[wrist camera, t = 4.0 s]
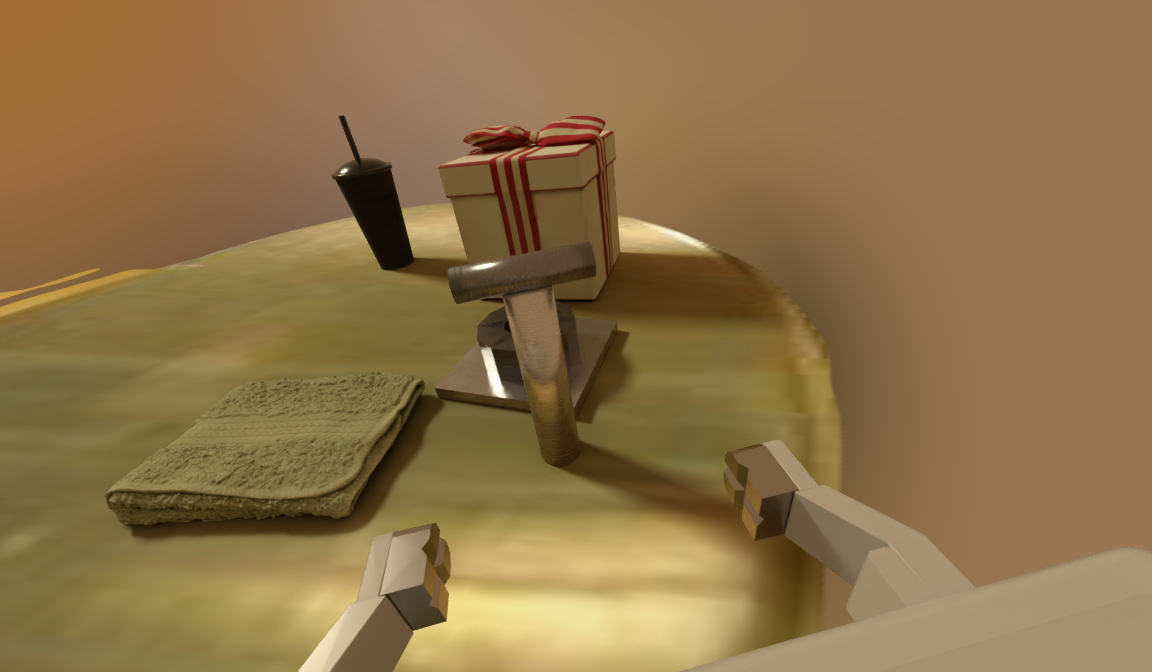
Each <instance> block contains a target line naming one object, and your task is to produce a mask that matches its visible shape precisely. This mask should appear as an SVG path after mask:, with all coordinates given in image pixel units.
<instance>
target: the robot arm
mask: <svg viewBox="0 0 1152 672" xmlns="http://www.w3.org/2000/svg"><path fill="white" fill-rule="evenodd" d="M725 462H726V464H727V465H728V467H727V468H726V469H725V471H724V478H723V480H724V484H725V489H726V491H727V494H728V496H729V498H730V500H731V501H732V503H733V505H735V506H736V507H738V508H740V509H741V510H743V512H742V520H743V522H744V524H745V525H746V527H747V529H748V531H749V532H750V534H751V536H752V537H753V539H754V541H756V540H760V539H765V538H769V537H773V536H778V535H782V534H785V535H784V536H786V537H787V538H788V539H790V540H791V541H792V542H794V543H795V544H797V545H798V546H799V547H801V548H802V549H803V550H805V551H806V552H807V553H809V554H810V555H812V556H813V557H814V558H816V559H817V560H818V561H820V562H821V563H823V564H824V565H825V566H827V567H828V568H829V569H831V570H832V571H833V572H835V573H836V574H838V575H839V576H840V577H842V578H843V579H845V580H846V581H847V582H849V583H850V584H851V585H853V586H854V587H853V589H852V592H851V594H850V596H849V598H848V601H847V604H846V609H847V611H848V612H849V613H850V615H851V616H852V618H853V620H854V621H855V622H852V623H849V624H845V625H841V626H838V627H834V628H831V629H827V630H824V631H820V632H817V633H813V634H810V635H806V636H803V637H799V638H796V639H792V640H789V641H785V642H782V643H778V644H774V645H771V646H767V647H764V648H760V649H757V650H753V651H750V652H746V653H743V654H739V655H736V656H732V657H729V658H725V659H722V660H718V661H714V662H711V663H707V664H704V665H700V666H697V667H693V668H690V669H686V670H683V671H679V672H1152V552H1149V551H1146V550H1143V549H1139V548H1134V547H1119V548H1114V549H1109V550H1105V551H1102V552H1099V553H1095V554H1092V555H1088V556H1085V557H1082V558H1078V559H1075V560H1072V561H1068V562H1064V563H1061V564H1057V565H1053V566H1050V567H1047V568H1043V569H1040V570H1036V571H1032V572H1029V573H1025V574H1021V575H1018V576H1015V577H1011V578H1007V579H1004V580H1000V581H997V582H993V583H990V584H986V585H983V586H980V587H974V586H973V585H972V584H971V583H970V582H969V581H968V580H967V579H966V578H965V576H963V574H962V573H961V572H960V571H959V570H958V569H957V568H956V567H955V566H954V565H953V564H952V563H951V562H950V561H949V560H948V559H947V558H946V557H945V556H944V555H943V554H942V553H941V552H940V551H939V550H938V549H937V547H936V546H935V545H934V544H933V543H932V542H930V540H929V539H928V538H927V537H926V536H925V535H923V534H921V533H919V532H917V531H915V530H913V529H911V528H909V527H907V526H905V525H903V524H901V523H899V522H897V521H895V520H893V519H892V518H890V517H888V516H885V515H883V514H881V513H880V512H878V511H876V510H874V509H872V508H870V507H868V506H866V505H864V504H862V503H860V502H858V501H856V500H854V499H852V498H850V497H847V496H846V495H844V494H842V493H840V492H838V491H836V490H834V489H832V488H830V487H828V486H826V485H818V484H817V483H816V481H815V480H814V479H813V478H812V477H811V475H810V474H809V473H808V472H807V471H806V469H805V468H804V467H803V466H802V465H801V463H800V462H799V461H798V460H797V459H796V457H795V456H794V455H793V454H792V453H791V451H790V450H789V449H788V448H787V447H786V446H785V444H784V443H783V442H782V441H780V440H774V441H770V442H766V443H762V444H756V445H752V446H748V447H744V448H740V449H736V450H733V451H729V452H727V453H726V455H725ZM439 535H440V529H439V527H438V526H437V524H436V523H433V524H428V525H423V526H419V527H414V528H410V529H405V530H400V531H395V532H391V533H387V534H383V535H379V536H376V537H375V539H374V540H373V542H372V544H371V548H370V552H369V556H368V560H367V564H366V568H365V572H364V575H363V579H362V583H361V587H360V591H359V595H358V599H357V602H356V603H352V604H350V605H349V607H348V608H347V609H346V610H345V612H344V613H343V614H342V616H341V617H340V618H339V619H338V621H337V622H336V623H335V625H334V626H333V627H332V628H331V630H330V631H329V632H328V634H327V635H326V636H325V637H324V639H323V640H322V641H321V643H320V644H319V645H318V646H317V648H316V649H315V650H314V651H313V653H312V654H311V655H310V657H309V658H308V659H307V660H306V662H305V663H304V664H303V666H302V667H301V668H300V669H299V671H298V672H393V670H394V668H395V666H396V664H397V663H398V661H399V659H400V657H401V655H402V653H403V651H404V650H405V648H406V646H407V644H408V642H409V640H410V639H411V637H412V635H413V631H414V630H418V629H421V628H424V627H428V626H431V625H435V624H438V623H442V622H445V621H447V610H448V598H449V593H448V591H447V590H446V588H445V586H444V585H445V583H446V582H447V580H448V579H449V577H450V571H451V560H450V551H449V548H448V545H447V543H446V541H445V539H442V538H440V537H439Z"/></svg>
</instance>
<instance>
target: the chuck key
mask: <svg viewBox="0 0 1152 672" xmlns="http://www.w3.org/2000/svg"><path fill="white" fill-rule="evenodd" d="M592 277H596V263H595V257H594V252H593V248H592V245H591V243H590V242H589V241H588V242H582V243H577V244H572V245H566V246H561V247H556V248H551V249H545V250H540V251H535V252H529V253H524V254H519V255H513V256H508V257H503V258H498V259H492V260H487V261H482V262H476V263H471V264H466V265H461V266H455V267H450V268H448V280H449V285H450V289H451V292H452V295H453V298H454V300H455V302H456V304H460V303H465V302H470V301H475V300H480V299H485V298H491V297H496V296H501V295H502V297H503V301H504V305H505V309H506V313H507V317H508V321H509V325H510V329H511V333H512V337H513V341H514V345H515V349H516V353H517V357H518V361H519V365H520V369H521V373H522V377H523V381H524V385H525V389H526V393H527V398H528V402H529V406H530V410H531V414H532V418H533V422H534V426H535V430H536V434H537V438H538V442H539V446H540V450H541V454H542V457H543V459H544V461H545V462H547V463H548V464H550V465H553V466H563V465H567V464H569V463H571V462H573V461H574V460H575V459H576V458H577V457H578V456H579V454H580V442H579V436H578V430H577V425H576V419H575V413H574V407H573V402H572V396H571V390H570V384H569V379H568V373H567V367H566V361H565V356H564V350H563V344H562V338H561V333H560V327H559V321H558V315H557V310H556V304H555V298H554V292H553V286H552V285H556V284H562V283H567V282H572V281H577V280H582V279H587V278H592Z"/></svg>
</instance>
